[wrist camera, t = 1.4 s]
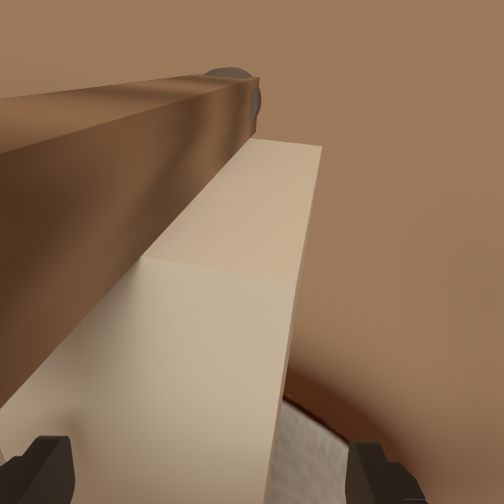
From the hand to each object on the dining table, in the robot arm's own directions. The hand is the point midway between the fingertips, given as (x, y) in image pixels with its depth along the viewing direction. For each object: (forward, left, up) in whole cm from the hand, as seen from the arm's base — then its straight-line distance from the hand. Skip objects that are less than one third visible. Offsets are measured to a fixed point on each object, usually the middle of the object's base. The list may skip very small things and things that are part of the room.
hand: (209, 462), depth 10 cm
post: (-8, +2, -26) cm, 27 cm away
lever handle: (-5, -1, +6) cm, 8 cm away
